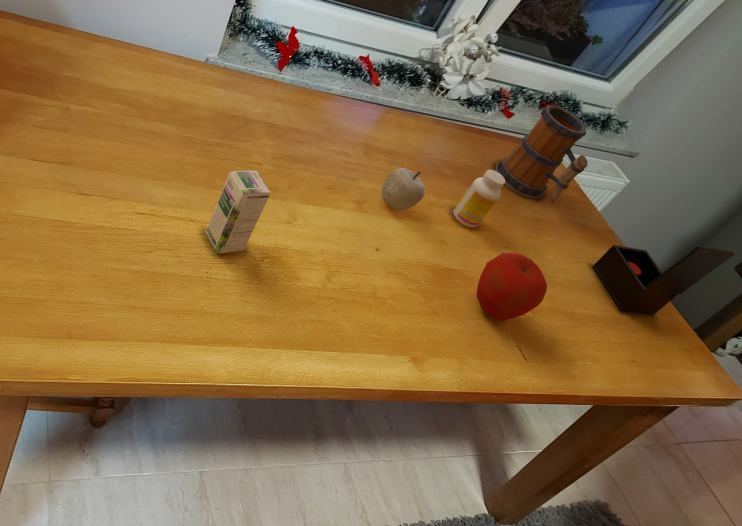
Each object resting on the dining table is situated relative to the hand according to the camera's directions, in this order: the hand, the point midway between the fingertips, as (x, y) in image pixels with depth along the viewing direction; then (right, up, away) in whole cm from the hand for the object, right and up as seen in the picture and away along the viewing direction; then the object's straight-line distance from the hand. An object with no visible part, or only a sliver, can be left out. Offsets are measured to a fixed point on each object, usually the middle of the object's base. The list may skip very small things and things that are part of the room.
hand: (740, 274), depth 135 cm
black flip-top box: (-11, -4, +25) cm, 28 cm away
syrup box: (-101, +6, -12) cm, 102 cm away
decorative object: (-66, +15, +16) cm, 70 cm away
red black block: (-11, -2, +26) cm, 29 cm away
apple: (-49, -7, +2) cm, 50 cm away
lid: (-4, +1, +11) cm, 12 cm away
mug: (-27, +22, +44) cm, 56 cm away
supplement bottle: (-49, +12, +22) cm, 55 cm away
